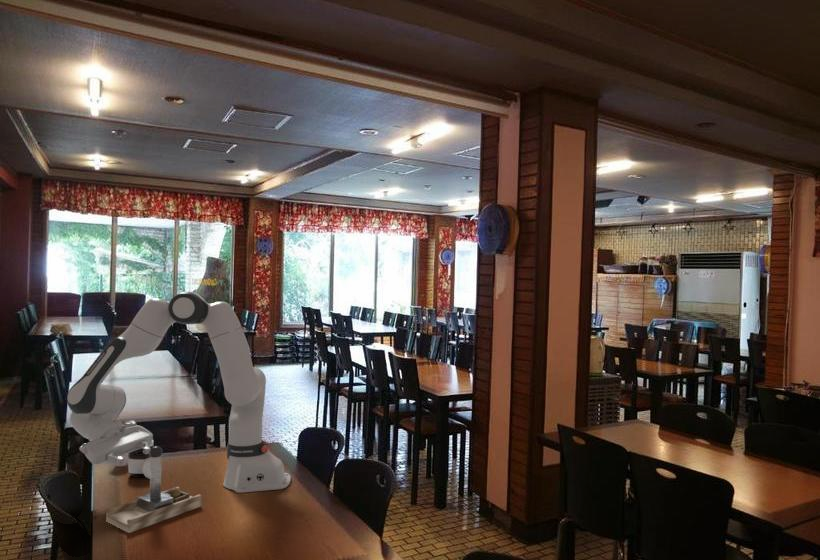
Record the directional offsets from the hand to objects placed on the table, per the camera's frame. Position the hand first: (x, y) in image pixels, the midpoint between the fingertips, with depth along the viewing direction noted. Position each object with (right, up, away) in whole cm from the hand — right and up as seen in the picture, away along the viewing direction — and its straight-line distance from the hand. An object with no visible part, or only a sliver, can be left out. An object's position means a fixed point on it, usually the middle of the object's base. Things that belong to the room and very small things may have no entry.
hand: (135, 456), depth 180 cm
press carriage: (+9, -13, -7) cm, 17 cm away
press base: (+9, -15, -7) cm, 19 cm away
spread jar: (-8, -15, +26) cm, 31 cm away
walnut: (+13, -11, -2) cm, 17 cm away
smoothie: (-23, -14, +37) cm, 45 cm away
